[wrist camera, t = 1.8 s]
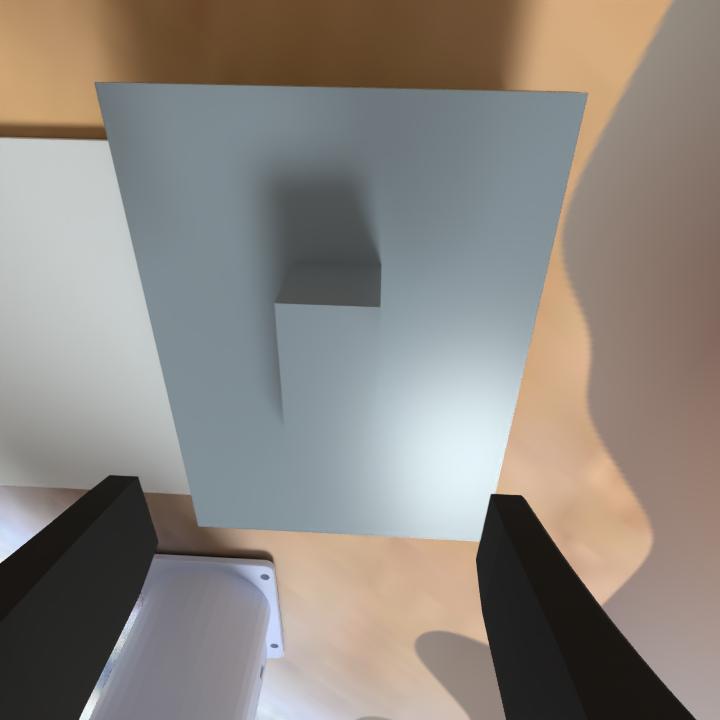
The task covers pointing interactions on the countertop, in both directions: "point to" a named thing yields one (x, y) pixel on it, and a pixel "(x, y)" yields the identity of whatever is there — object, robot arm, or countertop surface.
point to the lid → (341, 290)
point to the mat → (76, 328)
